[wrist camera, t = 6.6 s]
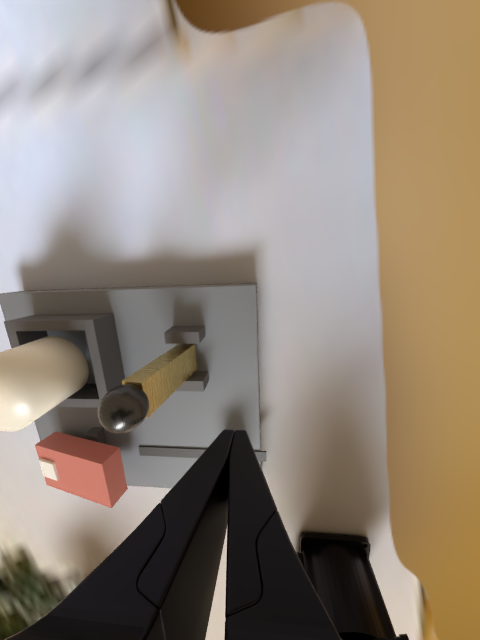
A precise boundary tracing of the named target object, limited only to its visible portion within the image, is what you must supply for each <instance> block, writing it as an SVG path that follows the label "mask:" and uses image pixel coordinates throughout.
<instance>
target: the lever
mask: <svg viewBox="0 0 480 640" xmlns="http://www.w3.org/2000/svg"><path fill="white" fill-rule="evenodd" d="M196 370H197V359H196V348H195V344H178V345H176V346H175V347H173V348H171V349H170V350H168V351H167V352H165V353H164V354H162V355H161V356H159V357H158V358H156V359H155V360H153V361H151V362H150V363H148V364H147V365H145V366H144V367H142V368H141V369H139V370H138V371H136V372H135V373H133V374H131V375H130V376H128V377H127V378H125V379H124V380H122V385H119V386H117V387H114V388H113V389H111V390H110V391H108V392H107V393H106V394H105V395H104V397H103V398H102V399H101V401H100V403H99V406H98V419H99V422H100V424H101V425H102V426H103V427H104V428H105V429H106V430H108V431H109V432H112V433H119V434H120V433H126V432H130V431H132V430H134V429H135V428H137V427H138V426H139V425H140V424H141V423H142V422H143V421H144V419H145V418H148V417H149V416H150V415H152V414H153V413H154V412H155V411H156V410H157V409H158V408H159V407H160V406H161V405H162V404H163V403H164V402H165V401H166V400H167V399H168V398H169V397H170V396H171V395H172V394H173V393H174V392H175V391H176V390H177V389H178V388H179V387H180V386H181V385H182V384H183V383H184V382H185V381H186V380H187V379H188V378H189V377H190V376H191V375H192V374H193V373H194V372H195V371H196Z"/></svg>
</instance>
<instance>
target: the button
mask: <svg viewBox="0 0 480 640" xmlns="http://www.w3.org/2000/svg"><path fill="white" fill-rule="evenodd" d="M88 376H89V367H88V363H87V360H86V358H85V356H84V354H83V353H82V351H81V350H80V349H79V348H78V347H77V346H76V345H75V344H74V343H72V342H71V341H69V340H67V339H65V338H62V337H58V336H48V337H44V338H41V339H38V340H35V341H32V342H29V343H26V344H23V345H20V346H18V347H15V348H12V349H9V350H6V351H3V352H0V430H1V431H8V432H11V431H18V430H21V429H23V428H25V427H26V426H28V425H29V424H31V423H32V422H33V421H35V420H36V419H38V418H39V417H41V416H42V415H44V414H45V413H46V412H48V411H49V410H51V409H52V408H54V407H55V406H57V405H58V404H59V403H61V402H62V401H64V400H65V399H67V398H68V397H70V396H71V395H72V394H74V393H75V392H77V391H78V390H80V389H81V388H82V387H83V386H84V385H85V384H86V382H87V380H88Z"/></svg>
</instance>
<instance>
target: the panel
mask: <svg viewBox="0 0 480 640" xmlns="http://www.w3.org/2000/svg"><path fill="white" fill-rule="evenodd" d="M0 304H1V308H2V311H3V314H4V318H5V322H4V324H5V327H6V331H7V334H8V337H9V341H10V344H11V348H15V347H18V346H20V345H23V344H26V343H29V342H32V341H35V340H38V339H41V338H44V337H48V336H58V337H62V338H65V339H67V340H69V341H71V342H72V343H74V344H75V345H76V346H77V347H78V348H79V349H80V350H81V351H82V353H83V354H84V356H85V358H86V360H87V363H88V367H89V376H88V380H87V382H86V384H85V385H84V386H83V387H82V388H81V389H80V390H78V391H77V392H75V393H74V394H72V395H71V396H70V397H68V398H67V399H65V400H64V401H62V402H61V403H59V404H58V405H57V406H55V407H54V408H52V409H51V410H49V411H48V412H46V413H45V414H44V415H42V416H41V417H39V418H38V419H36V420H35V424H36V427H37V431H38V434H39V438H40V441H42V440H43V439H45V438H46V437H48V436H49V435H51V434H53V433H54V432H60V433H64V434H68V435H72V436H76V437H80V438H83V439H87V440H91V441H95V442H99V443H103V444H107V445H111V446H115V447H119V448H120V453H121V458H122V463H123V468H124V473H125V478H126V483H127V485H128V486H144V487H160V488H173V487H174V486H175V484H176V483H177V482H178V481H179V480H180V479H181V478H182V477H183V475H184V474H185V473H186V472H187V471H188V470H189V469H190V467H191V466H192V465H193V464H194V463H195V462H196V461H197V459H198V458H199V457H200V456H201V455H202V454H203V453H204V451H205V450H206V449H207V448H208V447H209V446H210V445H211V443H212V442H213V441H214V440H215V439H216V438H217V437H218V435H219V434H220V433H221V432H222V431H223V430H224V429H233V430H246V431H247V433H248V436H249V438H250V441H251V443H252V446H253V449H254V451H255V454H256V456H257V459H258V461H259V464H260V466H261V461H266V451H261V443H260V403H259V363H258V323H257V283H241V284H212V285H182V286H153V287H124V288H95V289H65V290H36V291H19V292H10V293H2V294H0ZM178 344H195V348H196V359H197V370H196V371H195V372H194V373H193V374H192V375H191V376H190V377H189V378H188V379H187V380H186V381H185V382H184V383H183V384H182V385H181V386H180V387H179V388H178V389H177V390H176V391H175V392H174V393H173V394H172V395H171V396H170V397H169V398H168V399H167V400H166V401H165V402H164V403H163V404H162V405H161V406H160V407H159V408H158V409H157V410H156V411H155V412H154V413H153V414H152V415H150V416H149V417H148V418H145V419H144V421H143V422H142V423H141V424H140V425H139V426H138V427H137V428H135V429H134V430H132V431H130V432H126V433H120V434H119V433H112V432H109V431H108V430H106V429H105V428H104V427H103V426H102V425H101V424H100V422H99V419H98V406H99V403H100V401H101V399H102V398H103V397H104V395H105V394H106V393H107V392H108V391H110V390H111V389H113V388H114V387H117V386H119V385H122V380H124V379H125V378H127V377H128V376H130V375H131V374H133V373H135V372H136V371H138V370H139V369H141V368H142V367H144V366H145V365H147V364H148V363H150V362H151V361H153V360H155V359H156V358H158V357H159V356H161V355H162V354H164V353H165V352H167V351H168V350H170V349H171V348H173V347H175V346H176V345H178Z"/></svg>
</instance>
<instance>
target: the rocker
mask: <svg viewBox="0 0 480 640" xmlns="http://www.w3.org/2000/svg"><path fill="white" fill-rule="evenodd" d="M35 447H36V450H37V453H38V457H39V463H40V467H41V470H42V473H43V476H44V477H45V480H46V483H47V485H49V486H52V487H54V488H57V489H60V490H63V491H66V492H68V493H71V494H74V495H77V496H80V497H82V498H85V499H88V500H91V501H94V502H96V503H99V504H102V505H105V506H108V507H110V508H112V507H113V506H114V505H115V503H116V502H117V501H118V500H119V498H120V497H121V496H122V495H123V494H124V492H125V491H126V490H127V489H128V488H127V483H126V478H125V473H124V468H123V463H122V458H121V453H120V448H119V447H115V446H111V445H107V444H103V443H99V442H95V441H91V440H87V439H83V438H80V437H76V436H72V435H68V434H64V433H60V432H54V433H53V434H51V435H49V436H48V437H46V438H45V439H43V440H42V441H40V442H39V443H37V444H36V445H35Z"/></svg>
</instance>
